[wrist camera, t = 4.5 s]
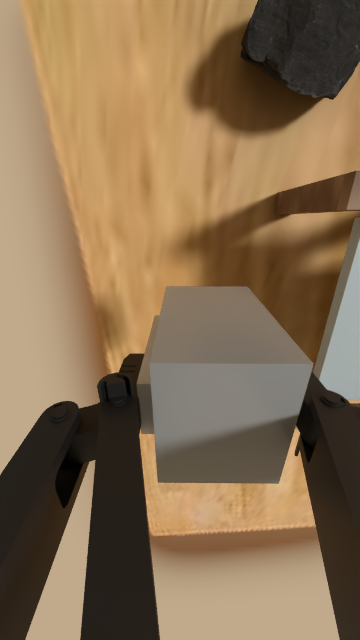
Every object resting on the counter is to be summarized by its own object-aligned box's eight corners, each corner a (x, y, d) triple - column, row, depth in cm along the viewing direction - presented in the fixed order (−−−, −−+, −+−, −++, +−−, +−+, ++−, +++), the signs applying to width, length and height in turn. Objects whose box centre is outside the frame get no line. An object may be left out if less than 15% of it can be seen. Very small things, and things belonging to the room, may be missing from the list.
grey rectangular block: (166, 286, 14) (149, 363, 7) (247, 286, 14) (313, 363, 7) (168, 366, 17) (157, 482, 10) (237, 366, 17) (278, 483, 10)
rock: (305, -83, 17) (358, -214, 12) (389, 0, 19) (468, -84, 14) (228, 79, 21) (242, 33, 16) (304, 136, 22) (340, 112, 17)
